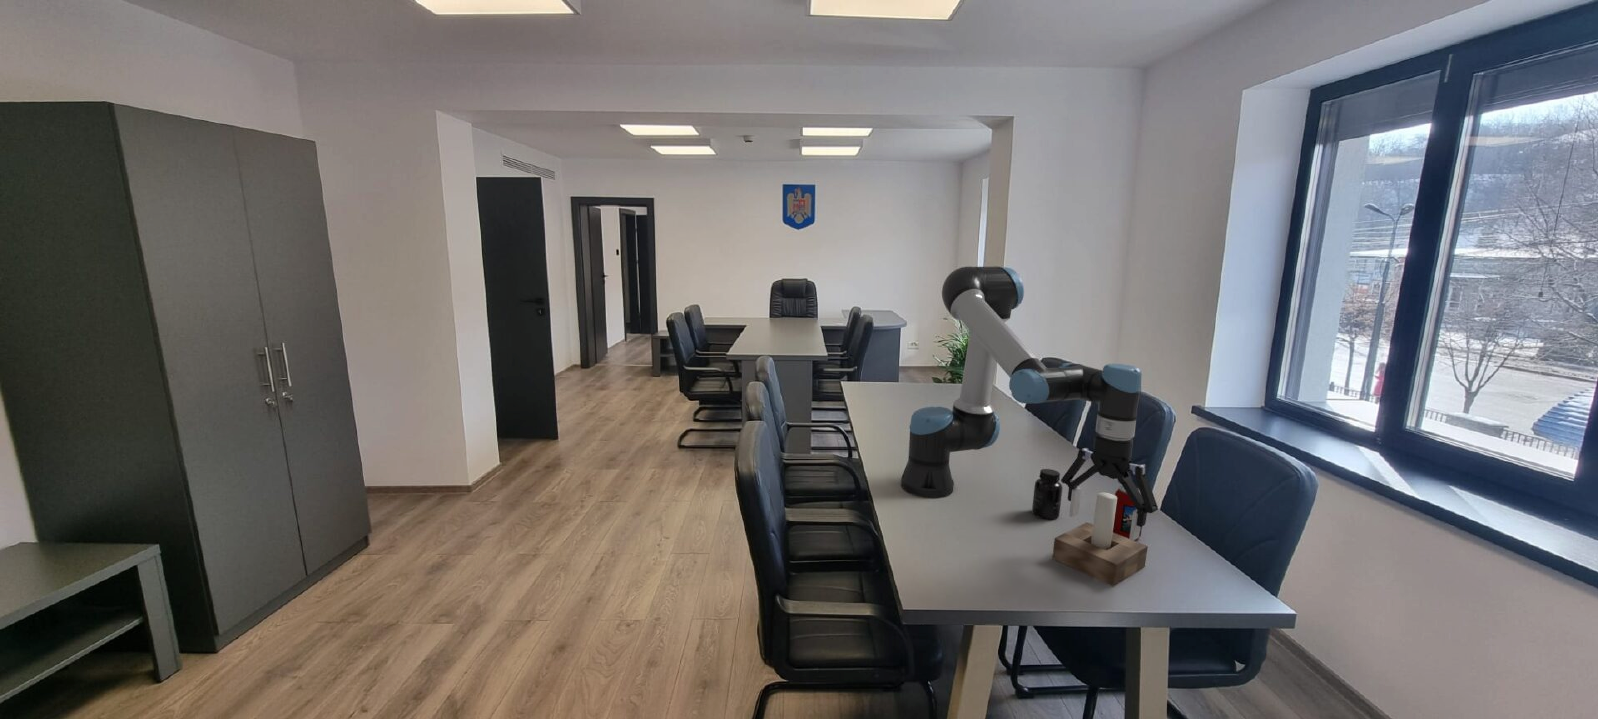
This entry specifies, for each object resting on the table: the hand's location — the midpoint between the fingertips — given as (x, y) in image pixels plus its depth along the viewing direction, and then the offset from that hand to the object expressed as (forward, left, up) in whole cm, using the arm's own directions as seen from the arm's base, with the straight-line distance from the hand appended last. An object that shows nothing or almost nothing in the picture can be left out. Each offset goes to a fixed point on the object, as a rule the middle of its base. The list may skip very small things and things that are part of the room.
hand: (1102, 526), depth 135 cm
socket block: (0, 0, -9) cm, 9 cm away
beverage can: (-3, +19, -9) cm, 21 cm away
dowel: (0, 0, -9) cm, 9 cm away
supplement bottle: (-21, +13, -9) cm, 26 cm away
